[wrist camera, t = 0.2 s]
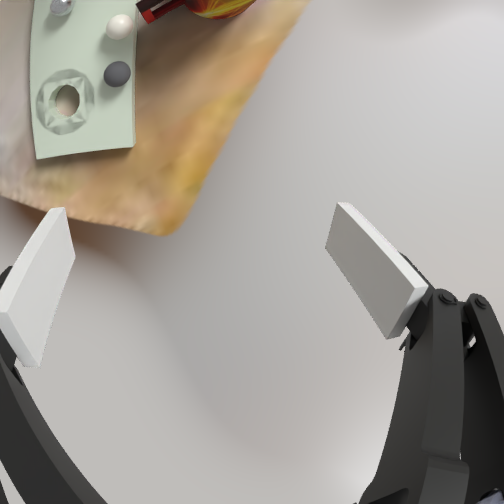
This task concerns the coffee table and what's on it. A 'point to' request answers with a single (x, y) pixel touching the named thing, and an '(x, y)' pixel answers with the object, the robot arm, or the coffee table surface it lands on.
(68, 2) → the steel ball
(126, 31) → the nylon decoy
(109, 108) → the board
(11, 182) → the coffee table surface
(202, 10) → the mug
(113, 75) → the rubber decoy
